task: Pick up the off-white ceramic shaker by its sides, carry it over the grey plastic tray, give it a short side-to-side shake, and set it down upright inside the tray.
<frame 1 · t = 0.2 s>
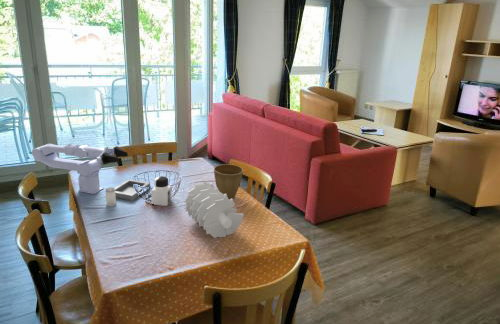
hand: (122, 156, 183), 21 cm above the table, tool horizontal, fingers open, 7 cm apart
tray: (130, 192, 195), on the table
spiral staircase: (212, 227, 167), on the table
plant pot: (227, 197, 196), on the table
container: (161, 202, 187), on the table
shaker: (111, 204, 182), on the table
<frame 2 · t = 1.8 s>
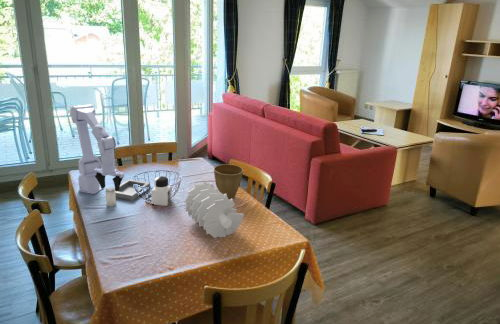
hand: (110, 189, 179), 8 cm above the table, tool pointing down, fingers open, 7 cm apart
nothing on the table moved.
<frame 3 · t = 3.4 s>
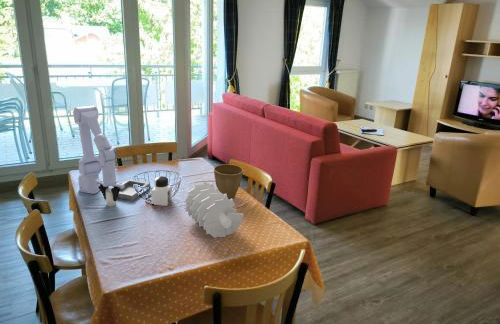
hand: (111, 199, 181), 2 cm above the table, tool pointing down, fingers closed on shaker, 4 cm apart
shaker: (111, 204, 182), on the table, touching gripper
everything else where it was.
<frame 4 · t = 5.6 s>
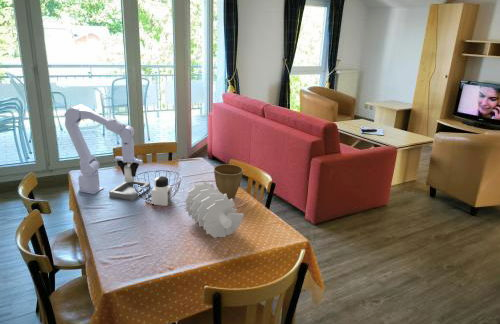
hand: (129, 175, 192), 9 cm above the table, tool pointing down, fingers closed on shaker, 4 cm apart
shaker: (129, 180, 193), point 7 cm above the table, touching gripper
everything else where it was.
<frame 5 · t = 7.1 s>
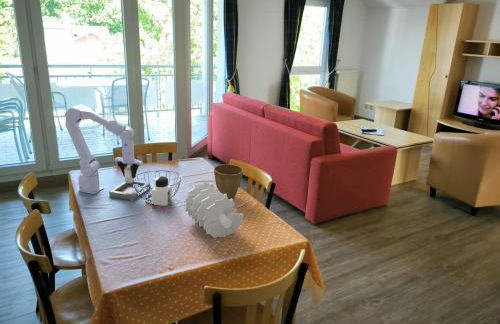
hand: (129, 176, 192), 9 cm above the table, tool pointing down, fingers closed on shaker, 4 cm apart
shaker: (129, 181, 193), point 6 cm above the table, touching gripper
everything else where it was.
when the fingers open (4 cm above the table, at t = 8.3 s): shaker stays where it is, resting on tray.
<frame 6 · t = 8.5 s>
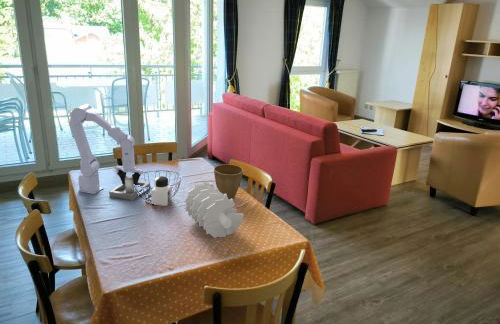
hand: (130, 184, 194), 4 cm above the table, tool pointing down, fingers open, 6 cm apart
shaker: (130, 191, 195), point 1 cm above the table, touching tray
everything else where it was.
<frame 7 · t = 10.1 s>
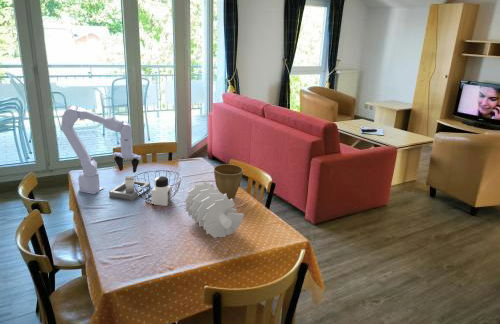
hand: (128, 171, 197), 9 cm above the table, tool pointing down, fingers open, 7 cm apart
nothing on the table moved.
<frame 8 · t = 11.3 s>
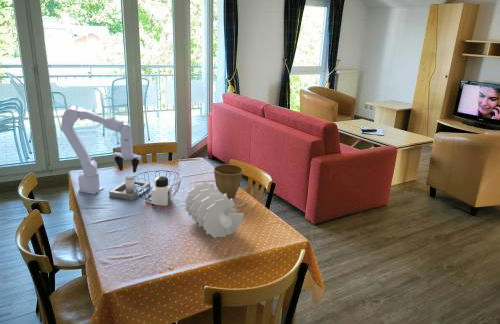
hand: (128, 171, 197), 9 cm above the table, tool pointing down, fingers open, 7 cm apart
nothing on the table moved.
at the end: shaker inside the target area on the tray (0.1 cm from its centre), point 0.6 cm above the tray's base; shaker tilted 1°; the gripper is holding nothing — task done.
